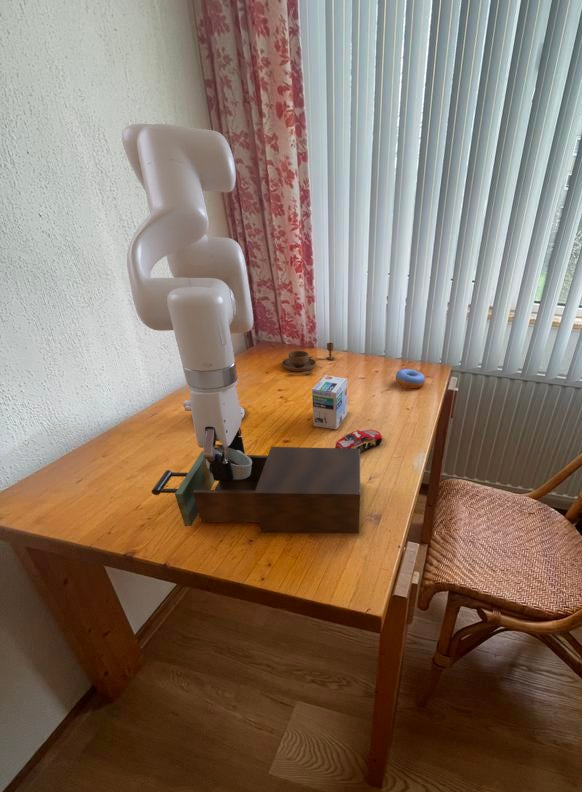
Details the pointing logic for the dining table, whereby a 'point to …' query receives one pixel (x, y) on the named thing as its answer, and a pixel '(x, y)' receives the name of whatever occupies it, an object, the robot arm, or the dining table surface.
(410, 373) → the doughnut
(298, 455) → the cabinet
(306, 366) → the place setting
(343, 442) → the race car
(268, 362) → the dining table surface
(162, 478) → the drawer
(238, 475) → the wristwatch
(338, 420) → the light bulb box
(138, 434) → the dining table surface
